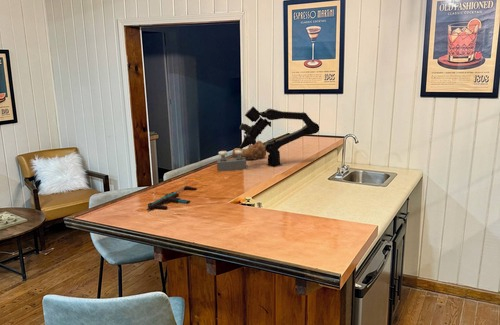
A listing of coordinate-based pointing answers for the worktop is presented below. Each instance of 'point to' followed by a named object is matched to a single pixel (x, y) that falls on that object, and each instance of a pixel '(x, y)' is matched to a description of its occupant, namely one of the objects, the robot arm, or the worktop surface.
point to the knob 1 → (223, 155)
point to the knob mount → (231, 164)
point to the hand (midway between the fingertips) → (239, 148)
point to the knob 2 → (238, 153)
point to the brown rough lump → (252, 151)
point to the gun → (169, 199)
